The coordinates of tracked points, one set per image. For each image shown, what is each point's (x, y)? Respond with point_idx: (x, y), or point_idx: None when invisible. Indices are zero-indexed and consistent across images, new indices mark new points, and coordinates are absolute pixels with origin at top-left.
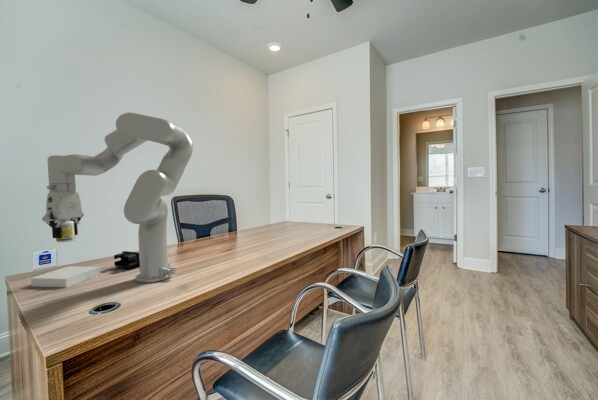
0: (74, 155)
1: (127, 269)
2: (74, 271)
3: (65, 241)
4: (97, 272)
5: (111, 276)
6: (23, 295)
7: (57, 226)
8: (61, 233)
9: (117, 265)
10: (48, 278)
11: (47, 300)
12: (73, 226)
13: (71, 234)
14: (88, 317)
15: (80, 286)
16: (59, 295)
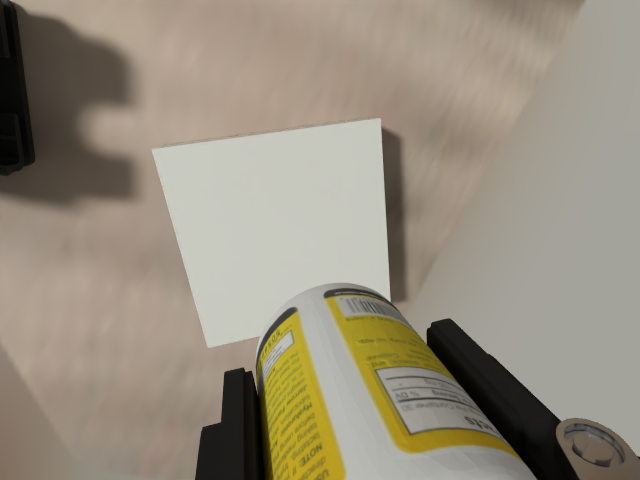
0: None
1: (14, 23)
2: (269, 215)
3: (378, 294)
4: (178, 144)
5: (166, 24)
6: (457, 202)
7: (588, 438)
8: (462, 351)
9: (16, 137)
10: (385, 222)
11: (498, 30)
12: (330, 433)
13: (348, 322)
14: None
15: (343, 54)
16: (449, 36)
